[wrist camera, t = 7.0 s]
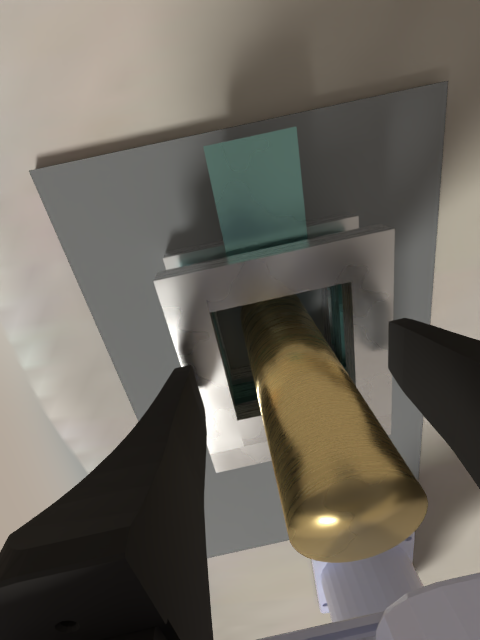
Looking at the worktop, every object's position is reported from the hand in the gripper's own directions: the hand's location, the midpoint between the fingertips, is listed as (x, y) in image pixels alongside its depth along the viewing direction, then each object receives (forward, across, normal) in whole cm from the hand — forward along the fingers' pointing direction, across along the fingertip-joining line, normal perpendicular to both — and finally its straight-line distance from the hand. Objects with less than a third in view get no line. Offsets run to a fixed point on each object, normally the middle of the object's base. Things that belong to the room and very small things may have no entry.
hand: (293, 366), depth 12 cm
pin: (+4, 0, 0) cm, 4 cm away
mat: (+5, 0, +5) cm, 7 cm away
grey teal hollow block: (+4, 0, -1) cm, 5 cm away
